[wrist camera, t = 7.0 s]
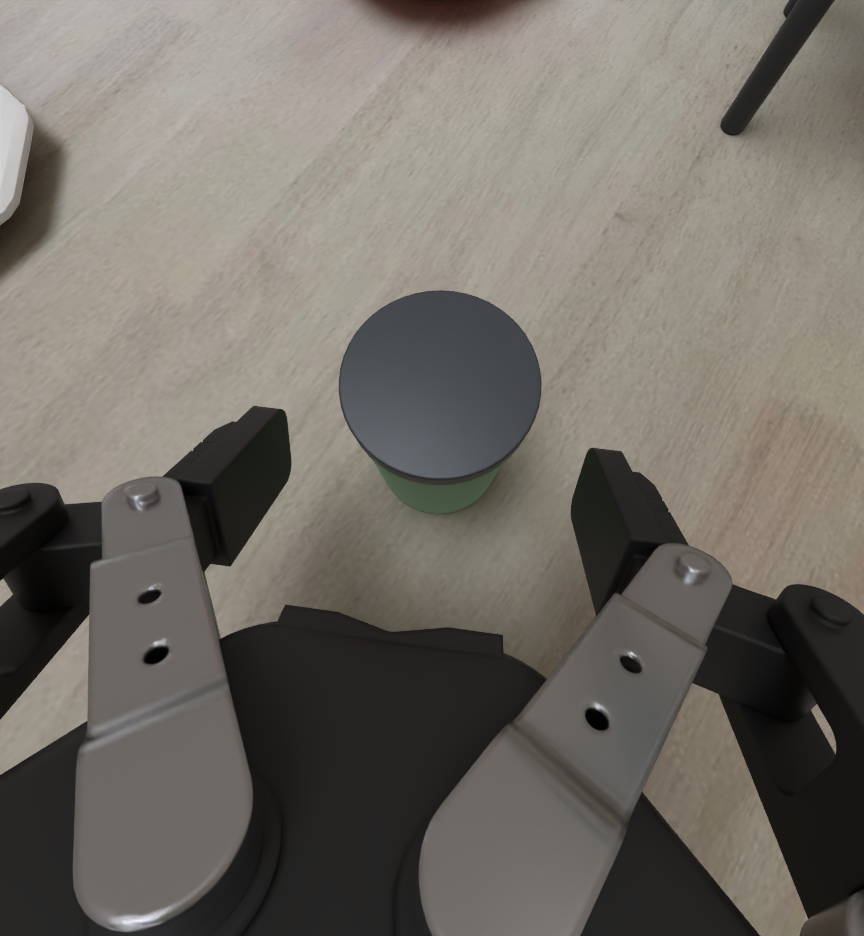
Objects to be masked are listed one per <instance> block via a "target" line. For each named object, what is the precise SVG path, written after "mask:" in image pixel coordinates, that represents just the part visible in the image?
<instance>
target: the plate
mask: <svg viewBox="0 0 864 936" xmlns="http://www.w3.org/2000/svg"><path fill="white" fill-rule="evenodd" d="M33 131H34V124H33V121H32V118H31V115H30V113H29V110H28V109H27V108H26V107H25V106H24V105H23V104H21V103H20V102H19V101H18V100H17V99H16V98H15V97H14V96H13V95H11V94H10V93H9V92H8V91H7V90H6V89H5V88H4V87H3V86H2V85H0V225H1V224H3V223H4V222H5V221H7V220H8V219H9V218H10V217H11V216H12V214H13V213H14V211H15V210H16V208H17V207H18V205H19V204H20V199H21V194H22V189H23V183H24V178H25V173H26V168H27V162H28V157H29V152H30V147H31V141H32V136H33Z"/></svg>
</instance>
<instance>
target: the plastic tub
mask: <svg viewBox="0 0 864 936" xmlns="http://www.w3.org/2000/svg"><path fill="white" fill-rule="evenodd" d="M339 396H340V403H341V408H342V411H343V414H344V417H345V420H346V422H347V424H348V426H349V428H350V430H351V432H352V433H353V435H354V436H355V438H356V440H357V441H358V443H359V444H360V446H361V447H362V448H363V450H364V451H365V452H366V453H367V454H368V455H369V457H371V458H372V459H373V461H374V462H375V464H376V466H377V467H378V469H379V471H380V472H381V474H382V476H383V477H384V479H385V481H386V482H387V484H388V485H389V487H390V489H391V490H392V491H393V493H394V494H395V495H396V496H397V497H398V498H399V499H400V500H401V501H403V502H404V503H406V504H407V505H408V506H410V507H412V508H414V509H417V510H419V511H422V512H427V513H433V514H446V513H451V512H456V511H459V510H462V509H464V508H466V507H468V506H469V505H471V504H473V503H474V502H475V501H477V500H478V499H479V498H480V497H481V496H482V495H483V494H484V493H485V491H486V490H487V489H488V487H489V486H490V484H491V483H492V481H493V479H494V478H495V476H496V475H497V473H498V472H499V470H500V468H501V467H502V465H503V464H504V462H505V461H506V460H507V459H508V458H509V457H510V456H511V455H512V454H513V453H514V452H515V450H516V449H517V448H518V447H519V445H520V444H521V442H522V441H523V439H524V438H525V436H526V435H527V433H528V432H529V430H530V428H531V426H532V424H533V422H534V420H535V417H536V414H537V411H538V408H539V403H540V397H541V374H540V368H539V364H538V360H537V357H536V354H535V352H534V349H533V347H532V345H531V343H530V341H529V340H528V338H527V336H526V334H525V333H524V332H523V331H522V329H521V328H520V327H519V325H518V324H517V323H516V322H515V321H514V320H513V319H512V318H511V317H510V316H508V315H507V314H506V313H505V312H503V311H502V310H501V309H499V308H498V307H496V306H494V305H493V304H491V303H489V302H487V301H485V300H483V299H480V298H478V297H475V296H472V295H468V294H465V293H459V292H454V291H427V292H421V293H415V294H412V295H409V296H405V297H402V298H400V299H398V300H396V301H393V302H391V303H389V304H388V305H386V306H384V307H383V308H381V309H380V310H378V311H377V312H376V313H374V314H373V315H372V316H371V317H370V318H369V319H368V320H367V321H366V322H365V323H364V324H363V325H362V326H361V327H360V328H359V330H358V331H357V332H356V334H355V335H354V337H353V338H352V340H351V342H350V343H349V345H348V348H347V350H346V352H345V355H344V357H343V361H342V364H341V368H340V376H339Z"/></svg>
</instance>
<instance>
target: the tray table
mask: <svg viewBox="0 0 864 936" xmlns="http://www.w3.org/2000/svg"><path fill="white" fill-rule="evenodd" d="M833 2H834V0H789V2H788V3H787V5H786V6H785V9H784V13H785V15H786V16H787V18H786V20H785V21H784V23H783V24H782V26H781V28H780V29H779V31H778V32H777V34H776V35H775V37H774V39H773V40H772V42H771V43H770V45H769V47H768V48H767V50H766V51H765V53H764V54H763V56H762V58H761V59H760V61H759V62H758V64H757V65H756V67H755V69H754V70H753V72H752V73H751V75H750V76H749V78H748V80H747V81H746V83H745V84H744V86H743V87H742V89H741V91H740V92H739V94H738V95H737V97H736V98H735V100H734V102H733V103H732V105H731V106H730V108H729V109H728V111H727V113H726V114H725V116H724V117H723V119H722V121H721V127H722V129H723V130H724V131H725V132H727V133H729V134H739V133H741V132H742V131H743V130H744V129H745V127H746V126H747V124H748V123H749V122H750V120H751V119H752V117H753V116H754V114H755V113H756V112H757V110H758V109H759V107H760V106H761V104H762V103H763V102H764V100H765V99H766V97H767V96H768V94H769V93H770V92H771V90H772V89H773V87H774V86H775V84H776V83H777V82H778V80H779V79H780V77H781V76H782V74H783V73H784V72H785V70H786V69H787V67H788V66H789V64H790V63H791V62H792V60H793V59H794V57H795V56H796V54H797V53H798V52H799V50H800V49H801V47H802V46H803V44H804V43H805V42H806V40H807V39H808V37H809V36H810V34H811V33H812V32H813V30H814V29H815V27H816V26H817V24H818V23H819V22H820V20H821V19H822V17H823V16H824V14H825V13H826V12H827V10H828V9H829V7H830V6H831V4H832V3H833Z"/></svg>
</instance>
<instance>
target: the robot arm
mask: <svg viewBox="0 0 864 936" xmlns="http://www.w3.org/2000/svg"><path fill="white" fill-rule="evenodd" d="M290 471H291V452H290V442H289V433H288V423H287V416H286V413H285V411H284V410H282V409H275V408H267V407H259V406H253V407H252V408H251V409H250V410H249V411H247V412H246V413H245V414H244V415H243V416H242V417H241V418H240V419H239V420H238V421H237V422H230V423H228V424H226V425H224V426H222V427H219V428H217V429H215V430H214V431H213V432H212V433H210V434H209V435H208V436H207V437H206V438H205V439H204V440H203V442H200V443H199V444H198V445H197V446H196V447H195V448H194V451H190V452H189V453H188V454H187V455H186V456H185V457H184V458H183V459H182V460H180V461H179V462H178V463H177V464H176V465H175V466H174V467H173V468H172V469H170V470H169V471H168V472H167V473H166V474H165V475H164V476H163V477H144V478H139V479H135V480H132V481H128V482H126V483H123V484H121V485H119V486H117V487H116V488H114V489H113V490H111V491H110V492H109V493H108V494H107V495H106V496H105V497H104V499H103V501H102V502H92V503H79V504H64V502H63V500H62V498H61V495H60V493H59V491H58V489H57V488H56V487H54V486H52V485H49V484H44V483H27V484H20V485H15V486H10V487H7V488H3V489H0V580H2V579H3V578H4V580H5V582H6V583H7V585H8V587H9V588H10V590H11V591H12V593H13V595H12V596H11V597H10V598H9V599H8V600H7V601H6V602H5V603H4V604H3V605H2V606H1V607H0V719H1V718H2V717H3V716H4V715H5V713H6V712H7V711H8V710H9V709H10V708H11V706H12V705H13V704H14V703H15V702H16V700H17V699H18V698H19V697H20V696H21V695H22V693H23V692H24V691H25V690H26V689H27V687H28V686H29V685H30V684H31V683H32V682H33V680H34V679H35V678H36V677H37V676H38V674H39V673H40V672H41V671H42V670H43V668H44V667H45V666H46V665H47V664H48V663H49V661H50V660H51V659H52V658H53V657H54V655H55V654H56V653H57V652H58V651H59V650H60V648H61V647H62V646H63V645H64V644H65V642H66V641H67V640H68V639H69V638H70V636H71V635H72V634H73V633H74V632H75V631H76V629H77V628H78V627H79V626H80V625H81V623H82V622H83V621H84V620H85V619H86V618H87V616H88V615H89V667H88V721H86V722H85V723H83V724H82V725H80V726H78V727H77V728H75V729H74V730H72V731H70V732H69V733H67V734H66V735H64V736H62V737H61V738H59V739H58V740H56V741H54V742H53V743H51V744H50V745H48V746H46V747H45V748H43V749H42V750H40V751H38V752H37V753H35V754H33V755H32V756H30V757H29V758H27V759H25V760H24V761H22V762H21V763H19V764H17V765H16V766H14V767H13V768H11V769H9V770H8V771H6V772H5V773H3V774H1V775H0V936H760V935H759V934H758V933H757V931H756V930H755V929H754V928H753V927H752V925H751V924H750V923H749V922H748V920H747V919H746V918H745V917H744V916H743V914H742V913H741V912H740V911H739V909H738V908H737V907H736V906H735V905H734V903H733V902H732V901H731V900H730V899H729V897H728V896H727V895H726V894H725V892H724V891H723V890H722V889H721V888H720V886H719V885H718V884H717V883H716V881H715V880H714V879H713V878H712V877H711V875H710V874H709V873H708V872H707V870H706V869H705V868H704V867H703V866H702V864H701V863H700V862H699V861H698V860H697V858H696V857H695V856H694V855H693V853H692V852H691V851H690V850H689V849H688V847H687V846H686V845H685V844H684V842H683V841H682V840H681V839H680V838H679V836H678V835H677V834H676V833H675V831H674V830H673V829H672V828H671V827H670V825H669V824H668V823H667V822H666V820H665V819H664V818H663V817H662V816H661V814H660V813H659V812H658V811H657V809H656V808H655V807H654V806H653V805H652V803H651V802H650V801H649V800H648V798H647V797H646V796H645V795H644V794H643V792H642V790H643V788H644V786H645V784H646V782H647V779H648V777H649V775H650V773H651V771H652V769H653V766H654V764H655V762H656V760H657V758H658V755H659V753H660V751H661V749H662V747H663V745H664V742H665V740H666V738H667V736H668V734H669V732H670V729H671V727H672V725H673V723H674V721H675V719H676V716H677V714H678V712H679V710H680V708H681V706H682V703H683V701H684V699H685V697H686V695H687V693H688V690H689V688H690V686H691V684H692V683H694V684H696V685H699V686H701V687H703V688H706V689H708V690H711V691H713V692H715V693H718V694H719V696H720V699H721V701H722V704H723V706H724V709H725V711H726V714H727V716H728V719H729V721H730V724H731V726H732V729H733V731H734V734H735V736H736V739H737V741H738V744H739V746H740V749H741V751H742V754H743V756H744V759H745V761H746V764H747V766H748V769H749V771H750V774H751V776H752V779H753V782H754V784H755V787H756V789H757V792H758V794H759V797H760V799H761V802H762V804H763V807H764V809H765V812H766V814H767V817H768V819H769V822H770V824H771V827H772V829H773V832H774V834H775V837H776V839H777V842H778V844H779V847H780V849H781V852H782V854H783V857H784V859H785V862H786V864H787V867H788V869H789V872H790V874H791V877H792V879H793V882H794V884H795V887H796V889H797V892H798V894H799V897H800V899H801V902H802V904H803V907H804V909H805V912H806V914H807V917H808V920H807V921H806V922H805V923H804V925H803V927H802V928H801V932H800V936H864V615H863V614H862V613H861V612H860V611H859V610H857V609H856V608H855V607H854V606H852V605H851V604H849V603H848V602H846V601H845V600H843V599H841V598H840V597H838V596H836V595H834V594H832V593H830V592H827V591H825V590H822V589H819V588H816V587H813V586H808V585H801V584H794V585H790V586H787V587H786V588H785V589H784V590H783V591H782V592H781V594H780V595H779V597H778V598H777V599H773V598H770V597H767V596H764V595H761V594H758V593H755V592H752V591H749V590H746V589H744V588H741V587H738V586H735V585H733V584H732V579H731V576H730V574H729V572H728V571H727V570H726V568H725V567H724V566H723V565H722V564H721V563H720V562H719V561H717V560H716V559H715V558H713V557H712V556H710V555H709V554H707V553H705V552H703V551H701V550H699V549H697V548H694V547H691V546H689V545H688V543H687V542H686V540H685V538H684V536H683V535H682V533H681V531H680V529H679V527H678V526H677V524H676V522H675V520H674V519H673V517H672V515H671V513H670V512H668V508H667V506H666V505H665V503H664V501H662V497H661V496H660V494H659V492H658V490H657V489H656V487H655V485H654V484H653V483H651V482H650V481H649V480H648V479H647V478H645V477H644V476H643V475H642V474H641V473H639V472H632V470H631V468H630V466H629V464H628V463H627V461H626V459H625V457H624V455H623V453H622V452H621V451H614V450H606V449H598V448H590V449H589V450H588V452H587V454H586V457H585V460H584V463H583V466H582V469H581V473H580V476H579V479H578V482H577V485H576V488H575V492H574V495H573V498H572V504H571V520H572V524H573V528H574V532H575V535H576V539H577V543H578V547H579V551H580V555H581V559H582V563H583V566H584V570H585V574H586V578H587V582H588V586H589V590H590V593H591V597H592V601H593V605H594V609H595V613H596V617H595V619H594V620H593V621H592V623H591V624H590V625H589V626H588V628H587V629H586V630H585V631H584V633H583V634H582V635H581V637H580V638H579V639H578V640H577V642H576V643H575V644H574V645H573V647H572V648H571V649H570V651H569V652H568V653H567V654H566V656H565V657H564V658H563V659H562V661H561V662H560V663H559V665H558V666H557V667H556V668H555V670H554V671H553V672H552V673H551V675H550V676H549V677H548V679H546V678H545V677H544V676H542V675H541V674H540V673H539V672H537V671H536V670H535V669H533V668H532V667H530V666H528V665H527V664H525V663H524V662H522V661H520V660H518V659H516V658H514V657H512V656H510V655H507V654H505V653H503V635H499V634H492V633H485V632H477V631H470V630H463V629H456V628H449V627H448V628H436V629H424V630H412V631H400V632H390V631H386V630H383V629H380V628H378V627H375V626H373V625H370V624H368V623H365V622H362V621H360V620H357V619H355V618H352V617H350V616H347V615H344V614H342V613H339V612H334V611H327V610H320V609H313V608H306V607H298V606H291V605H285V607H284V609H283V611H282V613H281V615H280V617H279V619H278V621H277V622H270V623H265V624H259V625H255V626H252V627H248V628H245V629H242V630H239V631H237V632H234V633H232V634H229V635H227V636H225V637H223V638H221V637H220V633H219V629H218V625H217V621H216V617H215V613H214V609H213V605H212V601H211V597H210V593H209V589H208V585H207V581H206V577H205V573H204V572H205V570H206V569H207V568H208V566H209V565H210V564H216V565H223V566H231V565H232V563H233V562H234V560H235V559H236V557H237V556H238V554H239V553H240V551H241V550H242V548H243V547H244V545H245V544H246V542H247V541H248V539H249V538H250V536H251V535H252V533H253V532H254V531H255V529H256V528H257V526H258V525H259V523H260V522H261V520H262V519H263V517H264V516H265V514H266V513H267V511H268V510H269V508H270V507H271V505H272V504H273V502H274V501H275V499H276V498H277V496H278V495H279V493H280V492H281V490H282V489H283V487H284V486H285V484H286V483H287V481H288V479H289V475H290ZM816 704H818V706H819V708H820V710H821V711H822V713H823V715H824V716H825V718H826V720H827V722H828V723H829V725H830V727H831V729H832V731H833V733H834V736H835V740H836V755H835V753H834V751H833V749H832V747H831V746H830V744H829V742H828V740H827V739H826V737H825V735H824V733H823V731H822V730H821V728H820V726H819V724H818V723H817V721H816V719H815V717H814V715H813V714H812V712H811V709H812V708H813V707H814V706H815V705H816Z"/></svg>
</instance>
